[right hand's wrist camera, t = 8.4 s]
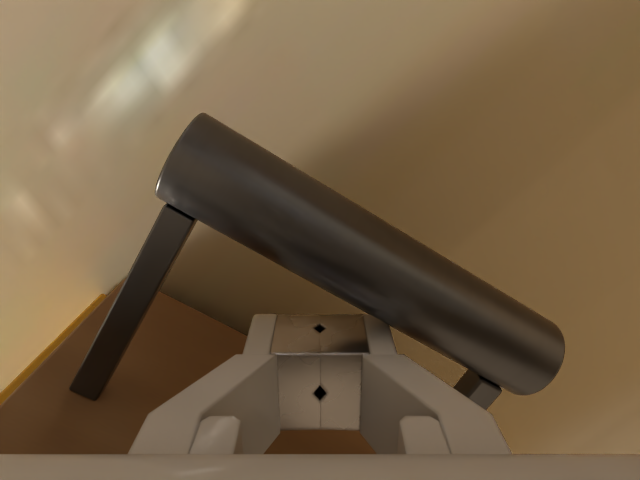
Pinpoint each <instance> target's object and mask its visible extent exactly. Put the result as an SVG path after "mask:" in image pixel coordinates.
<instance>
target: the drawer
mask: <svg viewBox="0 0 640 480" xmlns="http://www.w3.org/2000/svg"><path fill="white" fill-rule="evenodd" d="M155 195H156V197H157V198H159V199H161V200H163V201H164V202H166V203H167V204H166V205H164V206H163V208H162V210H161V212H160V214H159V216H158V218H157V219H156V221H155V223H154V225H153V227H152V229H151V231H150V233H149V235H148V237H147V239H146V241H145V243H144V245H143V246H142V248H141V250H140V252H139V254H138V256H137V258H136V260H135V262H134V264H133V266H132V268H131V270H130V271H129V273H128V275H127V277H125V278H124V279H123V280H122V281H121V282H120V283H119V284H118V285H117V286H116V287H115V288H114V289H113V290H112V292H111V293H110V294H109V295H108V296H107V297H106V298H105V299H104V300H103V301H102V302H101V303H100V304H99V305H98V306H97V307H96V308H95V309H94V310H93V311H92V312H91V313H90V314H89V315H88V316H87V317H86V318H85V319H84V320H83V321H82V322H81V323H80V324H79V325H78V326H77V327H76V328H75V329H74V330H73V331H72V332H71V333H70V334H69V335H68V336H67V337H66V338H65V339H64V341H63V342H62V343H61V344H60V345H59V346H58V347H57V348H56V349H55V350H54V351H53V352H52V353H51V354H50V355H49V356H48V357H47V358H46V359H45V360H44V361H43V362H42V363H41V364H40V365H39V366H38V367H37V368H36V369H35V370H34V371H33V372H32V373H31V374H30V375H29V376H28V377H27V378H26V379H25V380H24V381H23V382H22V383H21V384H20V385H19V386H18V387H17V389H16V390H15V391H14V392H13V393H12V394H11V395H10V396H9V397H8V398H7V399H6V400H5V401H4V402H3V403H2V404H1V405H0V454H128V452H129V450H130V448H131V446H132V444H133V442H134V440H135V439H136V437H137V435H138V433H139V431H140V429H141V427H142V425H143V423H144V421H145V419H146V417H147V415H148V414H149V413H150V412H152V411H153V410H155V409H156V408H158V407H159V406H160V405H162V404H163V403H165V402H166V401H168V400H169V399H171V398H172V397H174V396H175V395H177V394H178V393H180V392H181V391H183V390H184V389H186V388H187V387H189V386H190V385H192V384H193V383H194V382H196V381H197V380H199V379H200V378H202V377H203V376H205V375H206V374H208V373H209V372H211V371H212V370H214V369H215V368H217V367H218V366H220V365H221V364H223V363H224V362H226V361H227V360H228V359H230V358H231V357H233V356H234V355H236V354H243V350H244V347H245V343H246V340H247V336H246V335H244V334H242V333H240V332H238V331H236V330H234V329H233V328H231V327H229V326H227V325H225V324H223V323H221V322H219V321H217V320H215V319H213V318H211V317H209V316H207V315H205V314H203V313H201V312H199V311H197V310H195V309H193V308H191V307H189V306H187V305H185V304H183V303H181V302H179V301H177V300H175V299H173V298H171V297H169V296H168V295H166V294H164V293H162V292H160V291H159V290H160V288H161V286H162V284H163V282H164V281H165V279H166V277H167V275H168V273H169V271H170V270H171V268H172V266H173V264H174V262H175V260H176V259H177V257H178V255H179V253H180V251H181V250H182V248H183V246H184V244H185V242H186V240H187V239H188V237H189V235H190V233H191V231H192V229H193V228H194V226H195V224H196V222H197V220H199V221H201V222H203V223H204V224H206V225H208V226H210V227H212V228H213V229H215V230H217V231H219V232H221V233H223V234H224V235H226V236H228V237H230V238H232V239H233V240H235V241H237V242H239V243H241V244H243V245H244V246H246V247H248V248H250V249H252V250H253V251H255V252H257V253H259V254H261V255H263V256H264V257H266V258H268V259H270V260H272V261H273V262H275V263H277V264H279V265H281V266H282V267H284V268H286V269H288V270H290V271H292V272H293V273H295V274H297V275H299V276H301V277H302V278H304V279H306V280H308V281H310V282H312V283H313V284H315V285H317V286H319V287H321V288H322V289H324V290H326V291H328V292H330V293H332V294H333V295H335V296H337V297H339V298H341V299H342V300H344V301H346V302H348V303H350V304H352V305H353V306H355V307H357V308H359V309H361V310H362V311H364V312H366V313H368V314H370V315H371V316H373V317H375V318H377V319H379V320H381V321H382V322H384V323H386V324H388V325H390V326H391V327H393V328H395V329H397V330H399V331H401V332H402V333H404V334H406V335H408V336H410V337H411V338H413V339H415V340H417V341H419V342H421V343H422V344H424V345H426V346H428V347H430V348H431V349H433V350H435V351H437V352H439V353H441V354H442V355H444V356H446V357H448V358H450V359H451V360H453V361H455V362H457V363H459V364H461V365H462V366H464V367H466V368H468V370H467V371H466V373H465V374H464V375H463V376H462V377H461V379H460V380H459V381H458V382H457V383H456V385H455V386H454V387H453V388H454V389H455V390H457V391H458V392H460V393H461V394H463V395H464V396H466V397H467V398H469V399H470V400H472V401H473V402H475V403H476V404H477V405H479V406H480V407H482V408H483V409H485V410H486V409H487V408H488V407H489V406H490V405H491V404H492V403H493V401H494V400H495V399H496V398H497V397H498V396H499V395H500V393H501V391H502V390H501V388H500V387H502V388H504V389H506V390H508V391H510V392H511V393H514V394H517V395H530V394H534V393H536V392H538V391H540V390H542V389H543V388H545V387H546V386H547V385H548V384H549V383H550V382H551V381H552V380H553V379H554V377H555V376H556V374H557V373H558V371H559V369H560V367H561V365H562V362H563V358H564V353H565V342H564V338H563V335H562V333H561V331H560V329H559V328H558V327H557V326H556V325H555V324H554V323H553V322H551V321H549V320H548V319H546V318H544V317H543V316H541V315H540V314H538V313H536V312H535V311H533V310H531V309H530V308H528V307H526V306H525V305H523V304H521V303H520V302H518V301H516V300H515V299H513V298H511V297H510V296H508V295H506V294H505V293H503V292H501V291H500V290H498V289H496V288H495V287H493V286H491V285H490V284H488V283H486V282H485V281H483V280H481V279H480V278H478V277H476V276H475V275H473V274H471V273H470V272H468V271H466V270H465V269H463V268H462V267H460V266H458V265H457V264H455V263H453V262H452V261H450V260H448V259H447V258H445V257H443V256H442V255H440V254H438V253H437V252H435V251H433V250H432V249H430V248H428V247H427V246H425V245H423V244H422V243H420V242H418V241H417V240H415V239H413V238H412V237H410V236H408V235H407V234H405V233H403V232H402V231H400V230H398V229H397V228H395V227H393V226H392V225H390V224H388V223H387V222H385V221H384V220H382V219H380V218H379V217H377V216H375V215H374V214H372V213H370V212H369V211H367V210H365V209H364V208H362V207H360V206H359V205H357V204H355V203H354V202H352V201H350V200H349V199H347V198H345V197H344V196H342V195H340V194H339V193H337V192H335V191H334V190H332V189H330V188H329V187H327V186H325V185H324V184H322V183H320V182H319V181H317V180H315V179H314V178H312V177H310V176H309V175H307V174H306V173H304V172H302V171H301V170H299V169H297V168H296V167H294V166H292V165H291V164H289V163H287V162H286V161H284V160H282V159H281V158H279V157H277V156H276V155H274V154H272V153H271V152H269V151H267V150H266V149H264V148H262V147H261V146H259V145H257V144H256V143H254V142H252V141H251V140H249V139H247V138H246V137H244V136H242V135H241V134H239V133H237V132H236V131H234V130H232V129H231V128H229V127H228V126H226V125H224V124H223V123H221V122H219V121H218V120H216V119H214V118H213V117H211V116H209V115H208V114H206V113H200V114H199V115H198V116H196V117H195V118H194V119H193V120H192V121H191V123H190V124H189V125H188V126H187V128H186V129H185V130H184V132H183V133H182V135H181V136H180V138H179V139H178V141H177V142H176V144H175V146H174V147H173V149H172V151H171V152H170V154H169V156H168V158H167V160H166V162H165V164H164V166H163V168H162V170H161V173H160V175H159V178H158V180H157V184H156V188H155ZM264 454H376V452H375V451H374V450H373V449H372V447H371V446H370V445H369V444H368V442H367V441H366V440H365V439H364V437H363V436H362V435H361V434H360V431H355V430H285V431H280V434H279V435H278V436H277V438H276V439H275V440H274V441H273V442H272V444H271V445H270V446H269V447H268V449H267V450H266V451H265V452H264Z"/></svg>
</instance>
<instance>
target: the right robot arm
mask: <svg viewBox="0 0 640 480" xmlns="http://www.w3.org/2000/svg"><path fill="white" fill-rule="evenodd" d="M285 430H355V431H360V434H361V435H362V436H363V437H364V439H365V440H366V441H367V442H368V444H369V445H370V446H371V447H372V449H373V450H374V451H375V452H376V454H264V452H265V451H266V450H267V449H268V447H269V446H270V445H271V444H272V442H273V441H274V440H275V439H276V438H277V436H278V435H279V434H280V431H285ZM0 480H640V454H512V453H511V451H510V449H509V447H508V445H507V443H506V441H505V439H504V437H503V435H502V433H501V431H500V429H499V427H498V425H497V423H496V421H495V419H494V417H493V415H492V414H491V413H489V412H488V411H486V410H485V409H483V408H482V407H480V406H479V405H477V404H476V403H475V402H473V401H472V400H470V399H469V398H467V397H466V396H464V395H463V394H461V393H460V392H458V391H457V390H455V389H454V388H453V387H451V386H450V385H448V384H447V383H445V382H444V381H442V380H441V379H439V378H438V377H436V376H435V375H433V374H432V373H430V372H429V371H428V370H426V369H425V368H423V367H422V366H420V365H419V364H417V363H416V362H414V361H413V360H411V359H410V358H408V357H407V356H405V355H404V354H397V351H396V348H395V344H394V341H393V337H392V334H391V330H390V326H389V325H388V324H386V323H384V322H382V321H381V320H379V319H377V318H375V317H373V316H371V315H370V314H349V315H297V314H278V315H277V314H255V315H254V316H253V318H252V322H251V325H250V329H249V333H248V336H247V340H246V343H245V347H244V350H243V354H236V355H234V356H233V357H231V358H230V359H228V360H227V361H226V362H224V363H223V364H221V365H220V366H218V367H217V368H215V369H214V370H212V371H211V372H209V373H208V374H206V375H205V376H203V377H202V378H200V379H199V380H197V381H196V382H194V383H193V384H192V385H190V386H189V387H187V388H186V389H184V390H183V391H181V392H180V393H178V394H177V395H175V396H174V397H172V398H171V399H169V400H168V401H166V402H165V403H163V404H162V405H160V406H159V407H158V408H156V409H155V410H153V411H152V412H150V413H149V414H148V415H147V417H146V419H145V421H144V423H143V425H142V427H141V429H140V431H139V433H138V435H137V437H136V439H135V440H134V442H133V444H132V446H131V448H130V450H129V452H128V454H0Z"/></svg>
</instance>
